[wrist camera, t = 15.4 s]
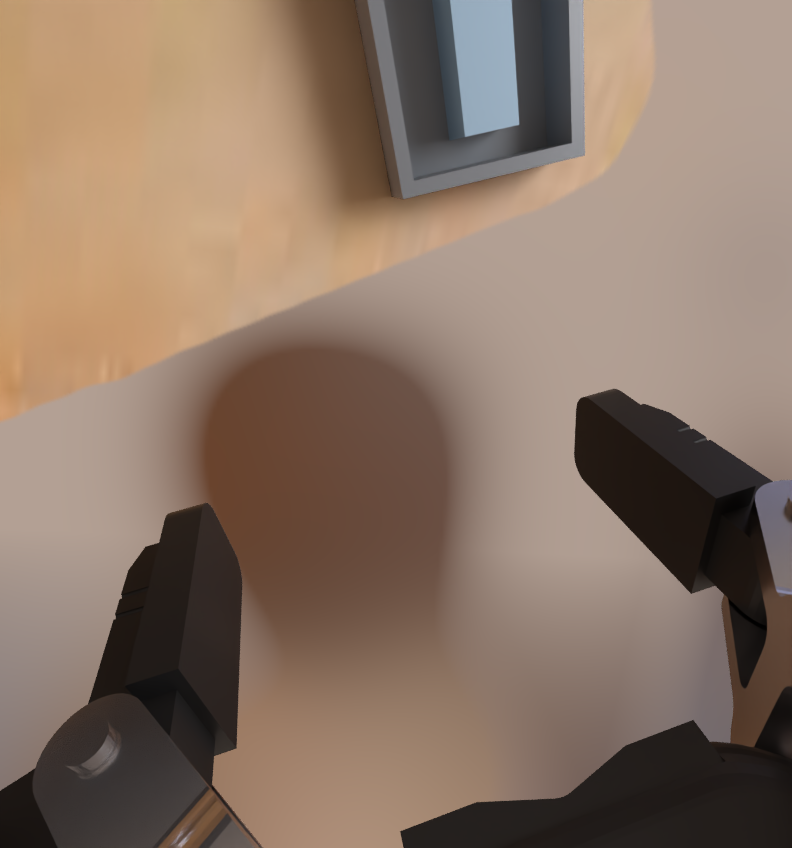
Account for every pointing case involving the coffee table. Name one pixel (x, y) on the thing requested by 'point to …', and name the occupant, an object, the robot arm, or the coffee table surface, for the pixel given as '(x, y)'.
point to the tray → (425, 107)
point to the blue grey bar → (477, 65)
